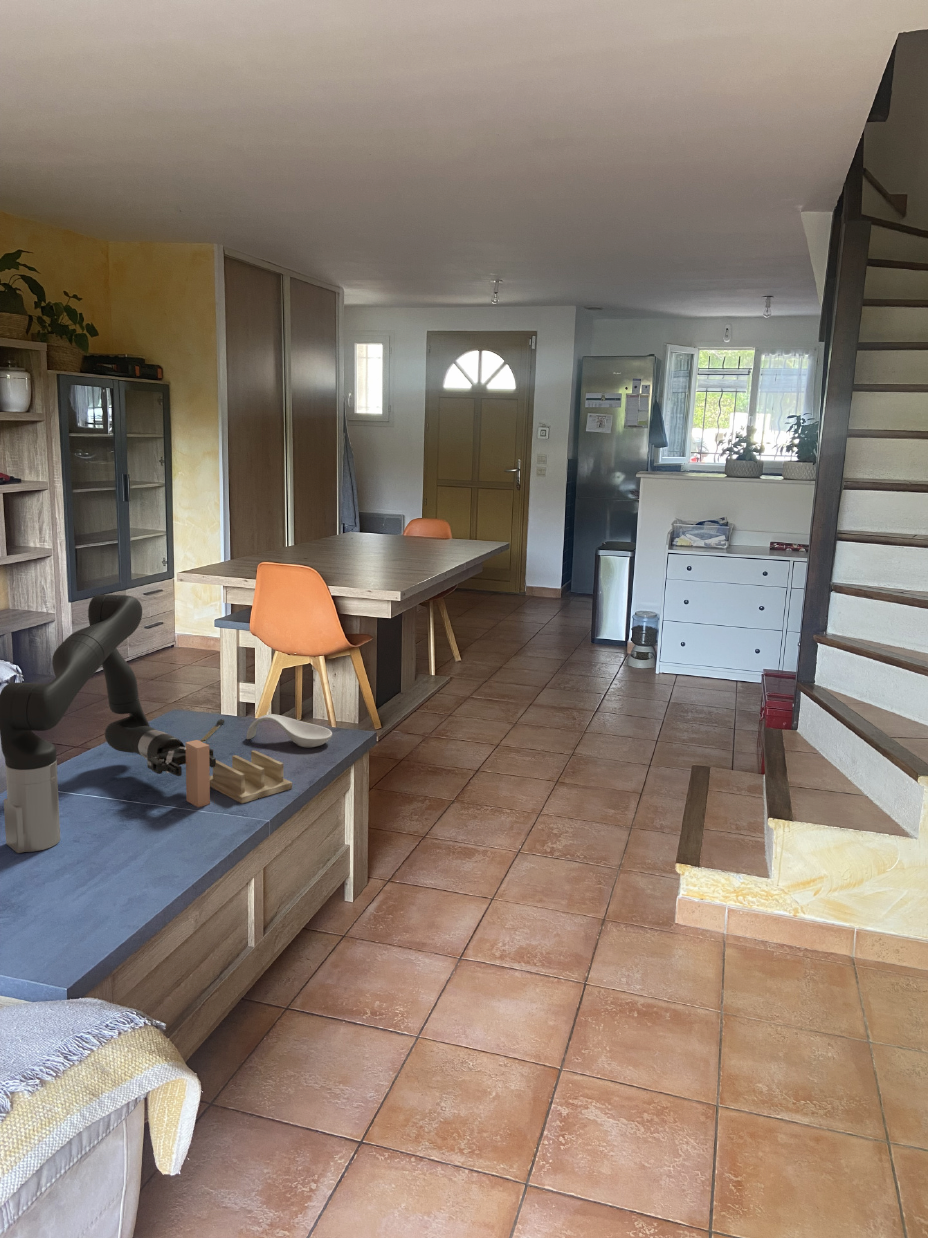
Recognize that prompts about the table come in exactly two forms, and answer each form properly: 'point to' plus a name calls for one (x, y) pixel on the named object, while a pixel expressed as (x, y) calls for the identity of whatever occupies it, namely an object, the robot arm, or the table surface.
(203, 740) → the tactical tomahawk
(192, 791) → the clay slat
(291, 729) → the spoon rest
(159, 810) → the table surface
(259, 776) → the wooden slotted stand
